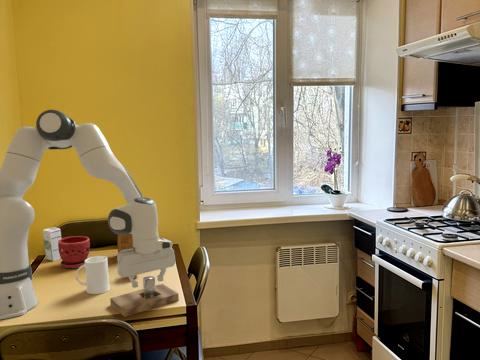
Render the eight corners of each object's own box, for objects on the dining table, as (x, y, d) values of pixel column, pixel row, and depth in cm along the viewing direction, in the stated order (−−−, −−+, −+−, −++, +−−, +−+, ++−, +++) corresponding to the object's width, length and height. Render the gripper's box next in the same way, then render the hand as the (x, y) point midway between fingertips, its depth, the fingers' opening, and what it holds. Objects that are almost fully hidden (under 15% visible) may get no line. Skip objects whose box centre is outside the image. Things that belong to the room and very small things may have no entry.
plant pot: (73, 272, 184) (71, 244, 183) (53, 267, 191) (51, 241, 189) (97, 262, 196) (95, 237, 194) (77, 258, 202) (75, 233, 200)
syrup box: (63, 258, 204) (61, 228, 202) (52, 261, 199) (49, 230, 197) (56, 256, 207) (53, 226, 205) (45, 259, 202) (42, 229, 200)
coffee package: (140, 252, 210) (138, 207, 207) (139, 260, 198) (136, 212, 195) (119, 253, 208) (116, 208, 205) (116, 261, 196) (113, 214, 193)
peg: (146, 303, 150) (146, 281, 148) (141, 299, 153) (141, 277, 152) (157, 300, 152) (156, 278, 151) (152, 296, 155) (151, 275, 154)
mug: (77, 297, 157) (75, 265, 155) (76, 289, 165) (74, 259, 163) (111, 291, 162) (109, 260, 160) (108, 284, 169) (106, 254, 168)
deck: (124, 317, 140) (124, 309, 140) (110, 305, 150) (110, 298, 149) (178, 300, 152) (178, 293, 152) (162, 290, 162) (162, 283, 161)
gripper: (120, 252, 140) (122, 293, 142) (176, 241, 152) (178, 279, 154) (113, 248, 145) (115, 288, 147) (168, 238, 157) (169, 274, 159)
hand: (147, 283), depth 151 cm, fingers open, 8 cm apart
